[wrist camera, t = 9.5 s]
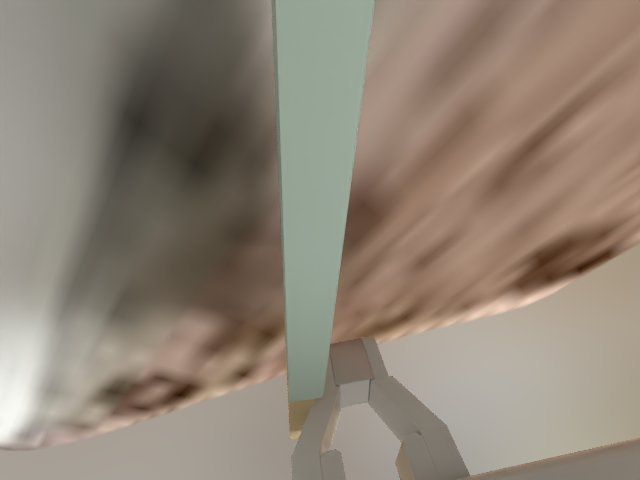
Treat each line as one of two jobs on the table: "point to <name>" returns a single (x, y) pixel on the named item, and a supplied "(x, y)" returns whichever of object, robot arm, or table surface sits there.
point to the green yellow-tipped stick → (315, 172)
